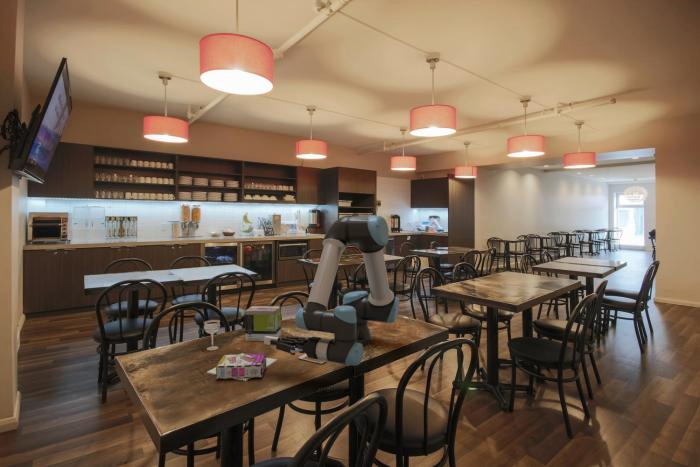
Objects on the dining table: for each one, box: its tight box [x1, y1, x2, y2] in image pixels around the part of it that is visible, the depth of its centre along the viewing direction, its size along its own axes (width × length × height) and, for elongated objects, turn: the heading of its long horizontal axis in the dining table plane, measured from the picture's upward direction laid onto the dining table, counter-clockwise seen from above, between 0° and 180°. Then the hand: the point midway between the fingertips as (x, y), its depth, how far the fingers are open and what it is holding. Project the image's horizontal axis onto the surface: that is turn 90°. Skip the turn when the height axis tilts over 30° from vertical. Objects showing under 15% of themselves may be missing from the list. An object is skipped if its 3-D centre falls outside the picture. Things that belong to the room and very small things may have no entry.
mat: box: [206, 352, 278, 382], centre depth 141 cm, size 18×20×1 cm
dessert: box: [297, 353, 326, 365], centre depth 151 cm, size 12×12×5 cm
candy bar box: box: [215, 353, 267, 380], centre depth 135 cm, size 11×5×16 cm
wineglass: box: [203, 319, 221, 351], centre depth 161 cm, size 7×7×12 cm
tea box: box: [244, 305, 282, 342], centre depth 174 cm, size 15×10×15 cm, turn 84°
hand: (265, 339), depth 136 cm, fingers closed
